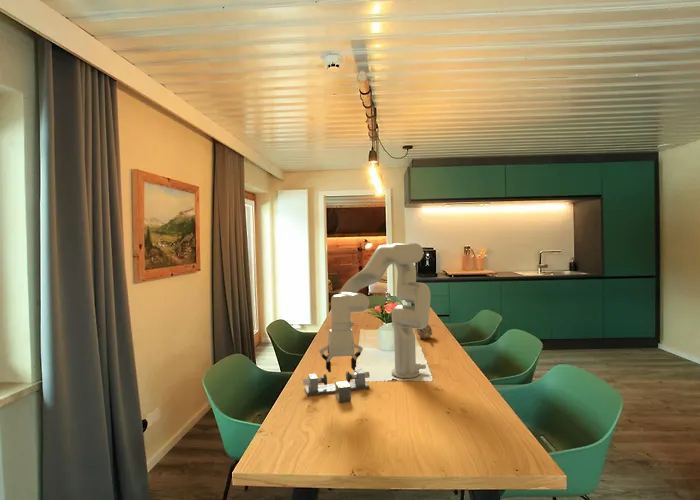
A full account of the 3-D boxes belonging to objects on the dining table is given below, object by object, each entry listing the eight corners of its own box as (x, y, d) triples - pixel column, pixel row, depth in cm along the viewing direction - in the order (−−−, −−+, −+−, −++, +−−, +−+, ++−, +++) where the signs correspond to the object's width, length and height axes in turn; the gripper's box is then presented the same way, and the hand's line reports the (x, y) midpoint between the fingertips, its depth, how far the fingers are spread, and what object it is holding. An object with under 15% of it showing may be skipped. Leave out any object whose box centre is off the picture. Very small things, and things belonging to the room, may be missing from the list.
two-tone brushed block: (335, 396, 160) (335, 381, 160) (346, 395, 161) (346, 380, 161) (339, 403, 153) (339, 387, 153) (350, 401, 154) (350, 386, 154)
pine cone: (414, 335, 255) (413, 320, 254) (428, 335, 255) (428, 319, 255) (422, 344, 233) (421, 327, 232) (438, 344, 233) (438, 327, 233)
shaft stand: (366, 381, 175) (365, 366, 175) (371, 388, 167) (371, 372, 167) (302, 389, 168) (301, 373, 168) (305, 396, 160) (304, 380, 160)
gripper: (359, 323, 162) (359, 365, 162) (317, 325, 158) (317, 369, 158) (365, 327, 155) (365, 371, 155) (320, 329, 150) (321, 375, 150)
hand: (341, 370), depth 156 cm, fingers open, 9 cm apart
